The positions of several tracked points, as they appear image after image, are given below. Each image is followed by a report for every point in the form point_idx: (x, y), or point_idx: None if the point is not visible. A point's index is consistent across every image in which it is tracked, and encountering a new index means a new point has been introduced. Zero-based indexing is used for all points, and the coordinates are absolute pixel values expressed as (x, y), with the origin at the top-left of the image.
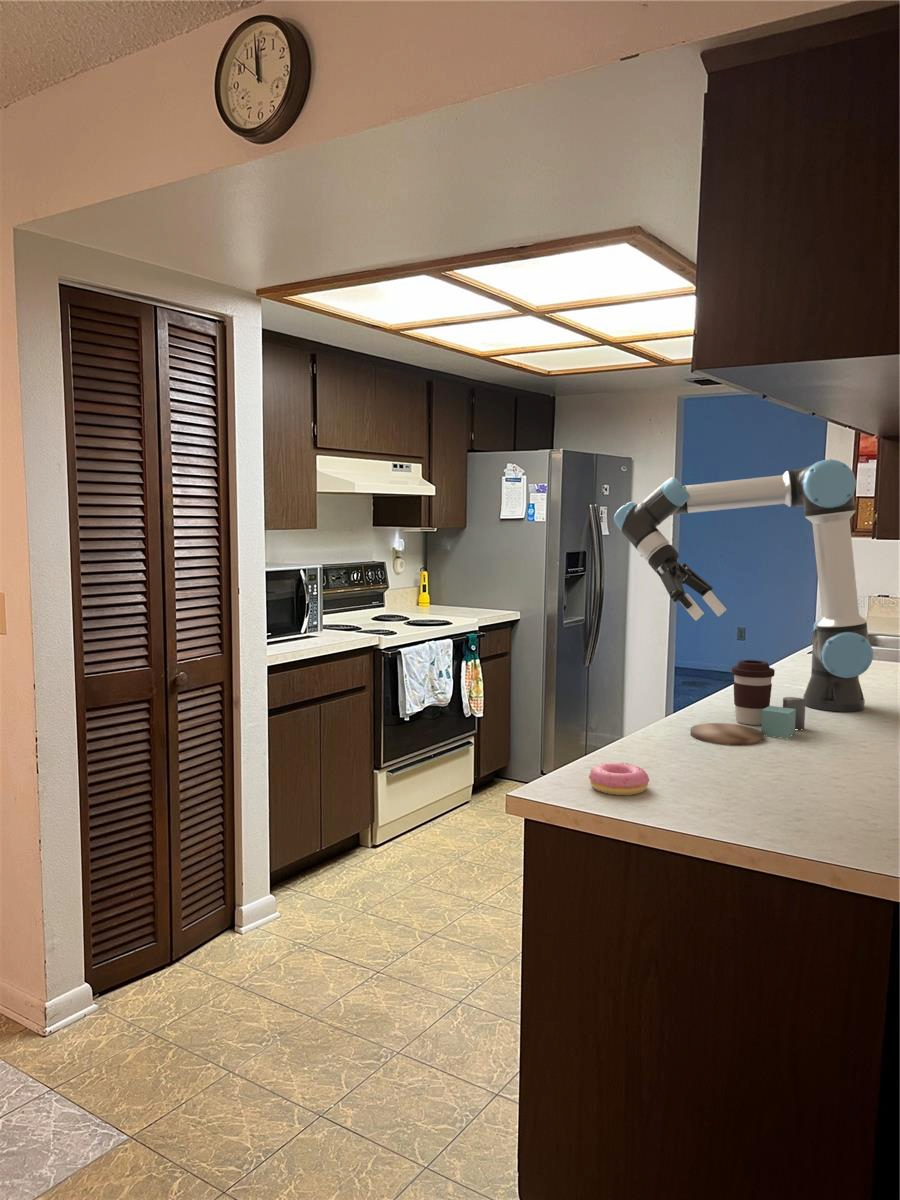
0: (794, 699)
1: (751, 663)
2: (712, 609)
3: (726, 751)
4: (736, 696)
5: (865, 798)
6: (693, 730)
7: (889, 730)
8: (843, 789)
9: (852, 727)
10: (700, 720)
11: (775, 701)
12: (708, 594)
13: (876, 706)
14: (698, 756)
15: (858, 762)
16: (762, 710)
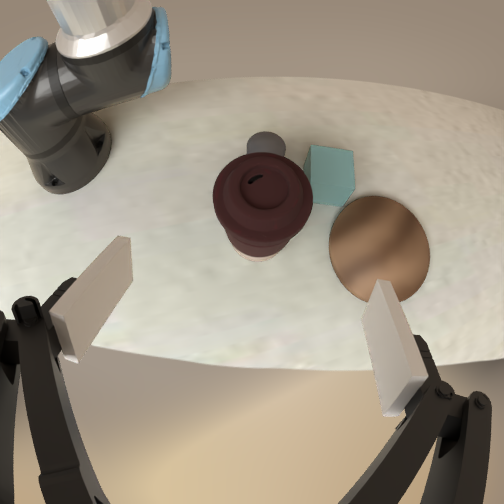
0: (268, 146)
1: (293, 185)
2: (116, 304)
3: (449, 232)
4: (285, 244)
5: (482, 115)
6: (408, 293)
7: (208, 80)
8: (477, 126)
9: (212, 111)
10: (291, 319)
11: (61, 235)
12: (74, 322)
13: None
14: (482, 256)
15: (394, 105)
16: (354, 188)
